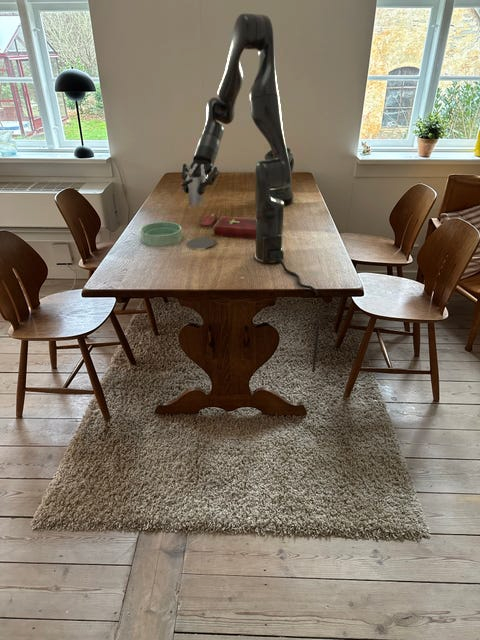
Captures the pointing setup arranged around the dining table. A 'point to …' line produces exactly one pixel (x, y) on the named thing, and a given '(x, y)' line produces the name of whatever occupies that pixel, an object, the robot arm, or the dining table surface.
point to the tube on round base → (194, 190)
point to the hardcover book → (235, 227)
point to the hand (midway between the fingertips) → (192, 192)
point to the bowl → (161, 233)
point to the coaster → (201, 243)
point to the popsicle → (208, 220)
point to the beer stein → (284, 193)
